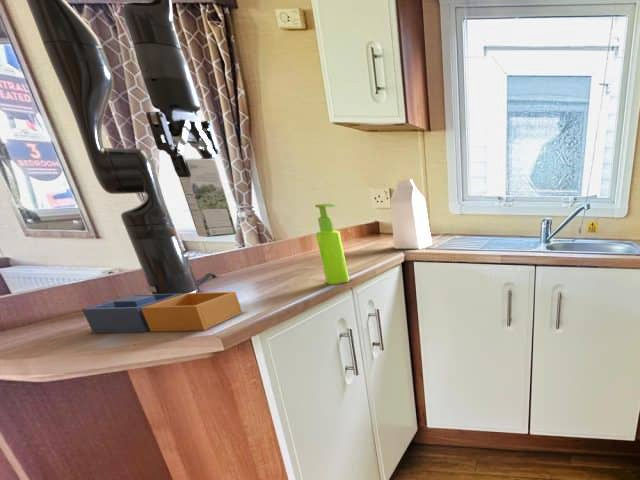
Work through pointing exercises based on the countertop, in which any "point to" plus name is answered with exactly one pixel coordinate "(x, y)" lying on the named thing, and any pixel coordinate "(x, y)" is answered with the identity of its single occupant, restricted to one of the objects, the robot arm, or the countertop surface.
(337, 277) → the soap dispenser
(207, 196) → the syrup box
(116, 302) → the slate block
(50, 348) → the countertop surface
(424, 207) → the milk
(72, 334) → the countertop surface
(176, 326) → the honey bin
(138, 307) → the slate bin
